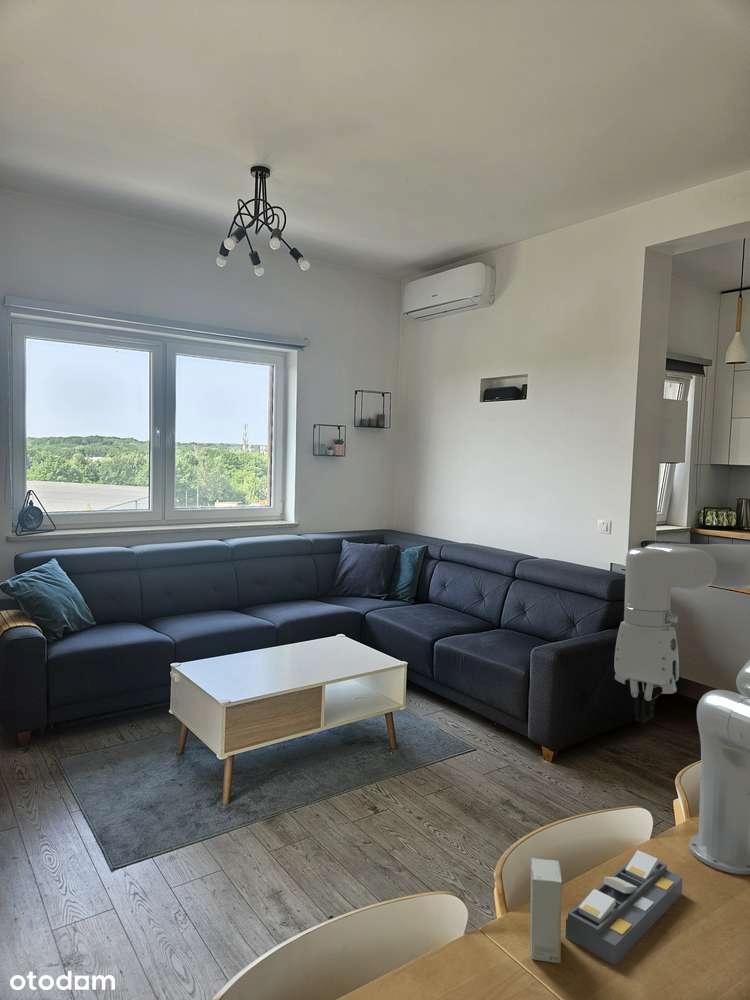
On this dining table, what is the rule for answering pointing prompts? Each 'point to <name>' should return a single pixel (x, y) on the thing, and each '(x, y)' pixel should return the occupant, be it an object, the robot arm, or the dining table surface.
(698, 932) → the dining table surface
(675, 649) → the robot arm
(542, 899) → the skincare box
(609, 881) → the block
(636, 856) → the plate
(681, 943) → the dining table surface
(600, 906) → the block
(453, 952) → the dining table surface
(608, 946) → the switch unit
